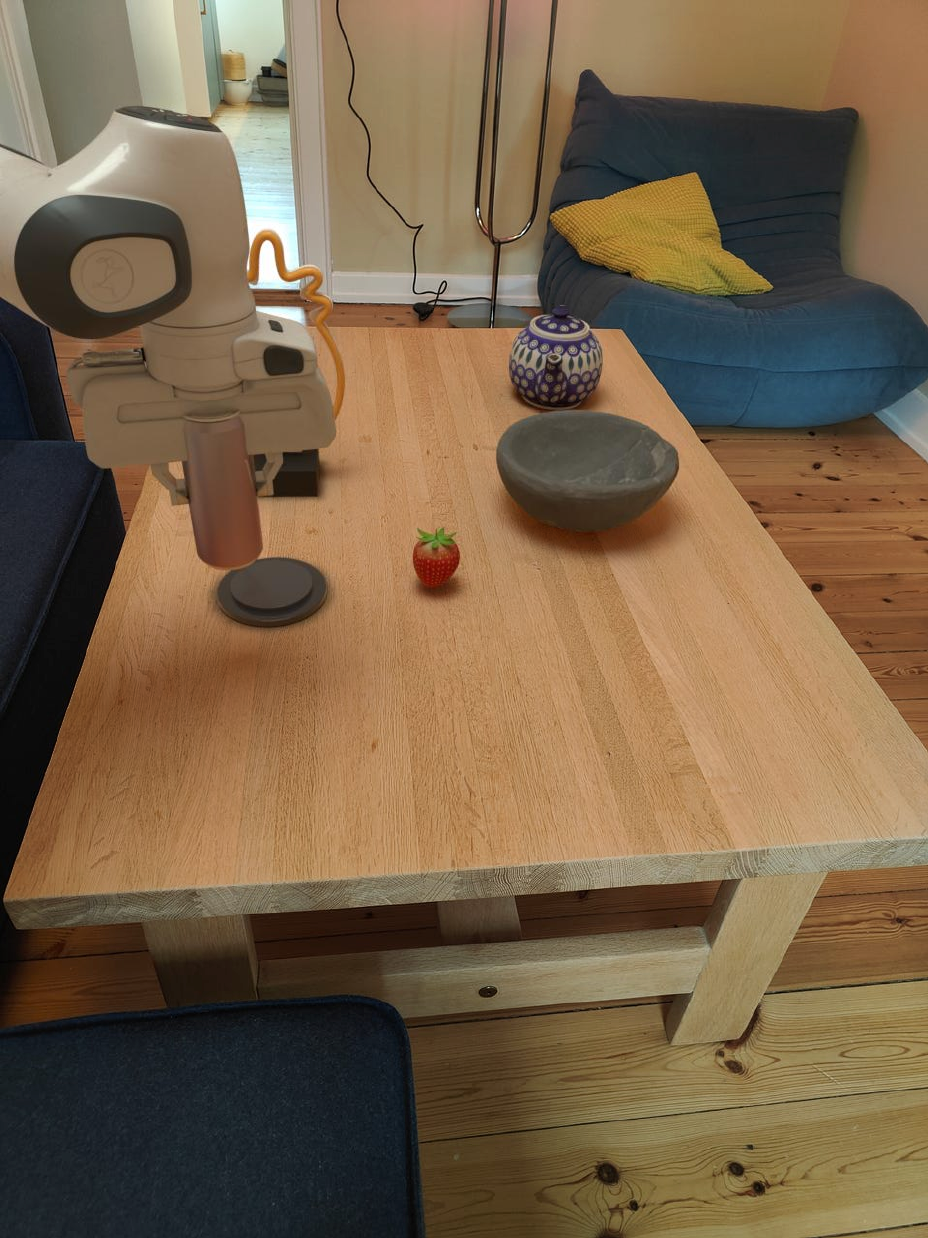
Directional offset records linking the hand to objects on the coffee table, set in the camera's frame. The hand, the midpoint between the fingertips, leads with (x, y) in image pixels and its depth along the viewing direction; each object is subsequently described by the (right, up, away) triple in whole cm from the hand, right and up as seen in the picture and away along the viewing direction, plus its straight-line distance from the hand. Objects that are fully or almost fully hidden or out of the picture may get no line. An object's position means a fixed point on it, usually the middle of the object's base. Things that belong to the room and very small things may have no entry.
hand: (223, 497), depth 76 cm
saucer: (0, -8, +20) cm, 22 cm away
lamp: (-3, +8, +40) cm, 41 cm away
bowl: (+36, +3, +38) cm, 52 cm away
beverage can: (0, -5, +4) cm, 6 cm away
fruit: (+18, -7, +23) cm, 30 cm away
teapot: (+36, +26, +65) cm, 79 cm away
